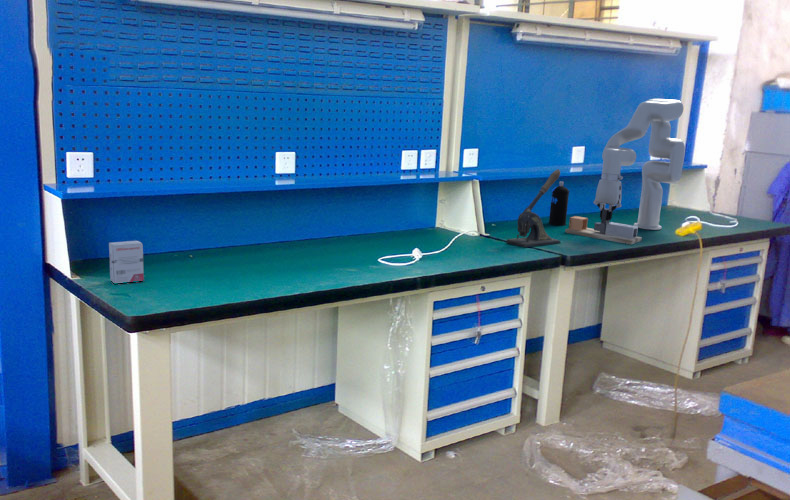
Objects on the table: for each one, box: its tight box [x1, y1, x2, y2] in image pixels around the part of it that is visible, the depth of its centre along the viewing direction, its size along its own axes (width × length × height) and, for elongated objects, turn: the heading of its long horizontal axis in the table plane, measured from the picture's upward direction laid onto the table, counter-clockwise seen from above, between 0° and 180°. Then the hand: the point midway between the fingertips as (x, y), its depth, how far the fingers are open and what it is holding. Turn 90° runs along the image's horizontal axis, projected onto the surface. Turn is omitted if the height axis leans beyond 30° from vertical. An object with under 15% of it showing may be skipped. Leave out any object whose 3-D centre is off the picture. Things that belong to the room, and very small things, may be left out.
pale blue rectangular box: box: [605, 221, 639, 239], centre depth 313 cm, size 5×12×5 cm, turn 51°
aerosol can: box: [547, 181, 570, 227], centre depth 340 cm, size 8×8×20 cm
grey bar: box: [593, 207, 634, 235], centre depth 314 cm, size 4×16×10 cm, turn 51°
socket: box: [568, 215, 589, 231], centre depth 325 cm, size 6×6×5 cm
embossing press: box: [505, 169, 561, 248], centre depth 294 cm, size 11×24×30 cm, turn 126°
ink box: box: [108, 240, 145, 284], centre depth 212 cm, size 9×5×12 cm, turn 124°
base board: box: [565, 227, 643, 245], centre depth 319 cm, size 12×30×2 cm, turn 51°
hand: (605, 219), depth 317 cm, fingers closed on grey bar, 2 cm apart
